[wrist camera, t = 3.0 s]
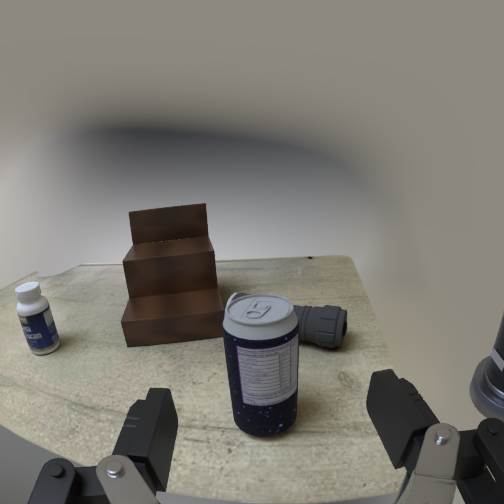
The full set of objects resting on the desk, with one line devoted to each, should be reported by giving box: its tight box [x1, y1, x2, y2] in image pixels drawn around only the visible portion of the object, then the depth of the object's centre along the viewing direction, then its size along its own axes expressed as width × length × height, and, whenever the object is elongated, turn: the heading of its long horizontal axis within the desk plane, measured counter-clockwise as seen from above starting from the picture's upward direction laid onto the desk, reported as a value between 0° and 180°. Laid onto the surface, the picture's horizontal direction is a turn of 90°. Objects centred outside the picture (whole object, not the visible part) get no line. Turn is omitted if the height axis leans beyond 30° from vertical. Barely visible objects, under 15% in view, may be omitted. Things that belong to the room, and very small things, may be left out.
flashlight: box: [225, 293, 347, 348], centre depth 39 cm, size 15×5×5 cm, turn 65°
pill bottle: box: [15, 282, 60, 355], centre depth 35 cm, size 5×5×10 cm
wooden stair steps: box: [121, 203, 225, 347], centre depth 46 cm, size 14×19×16 cm
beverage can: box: [222, 294, 299, 437], centre depth 24 cm, size 6×6×12 cm
